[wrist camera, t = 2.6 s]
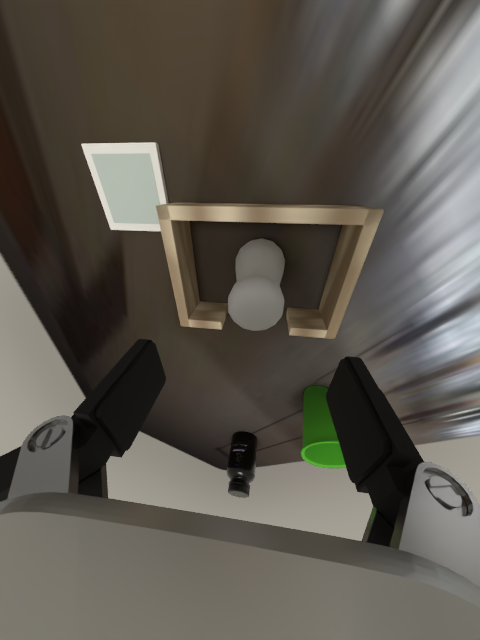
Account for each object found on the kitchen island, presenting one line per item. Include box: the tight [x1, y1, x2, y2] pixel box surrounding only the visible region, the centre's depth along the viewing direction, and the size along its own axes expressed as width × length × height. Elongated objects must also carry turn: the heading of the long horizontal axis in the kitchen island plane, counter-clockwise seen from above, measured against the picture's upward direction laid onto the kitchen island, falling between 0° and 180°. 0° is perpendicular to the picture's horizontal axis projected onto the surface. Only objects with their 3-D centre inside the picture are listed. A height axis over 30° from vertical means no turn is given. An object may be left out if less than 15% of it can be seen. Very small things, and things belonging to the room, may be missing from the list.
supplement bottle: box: [227, 432, 257, 498], centre depth 47 cm, size 7×7×12 cm
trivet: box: [81, 143, 169, 231], centre depth 21 cm, size 8×8×1 cm
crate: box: [156, 203, 384, 339], centre depth 23 cm, size 20×14×5 cm
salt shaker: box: [228, 238, 285, 331], centre depth 19 cm, size 6×6×13 cm
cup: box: [301, 385, 346, 468], centre depth 33 cm, size 9×9×11 cm
